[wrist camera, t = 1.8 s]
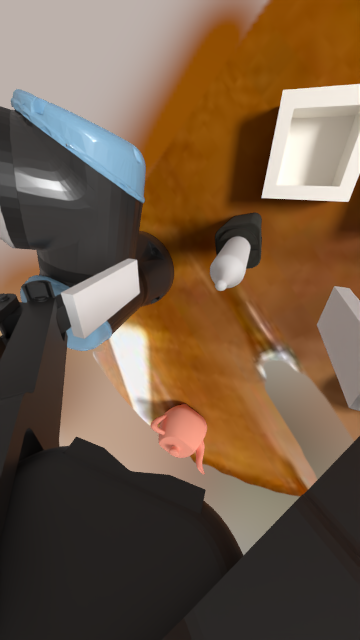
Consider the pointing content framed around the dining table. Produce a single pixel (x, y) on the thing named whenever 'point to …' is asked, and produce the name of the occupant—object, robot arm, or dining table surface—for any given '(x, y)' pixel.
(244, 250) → the candle
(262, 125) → the dining table surface
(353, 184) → the socket block
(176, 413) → the teapot
